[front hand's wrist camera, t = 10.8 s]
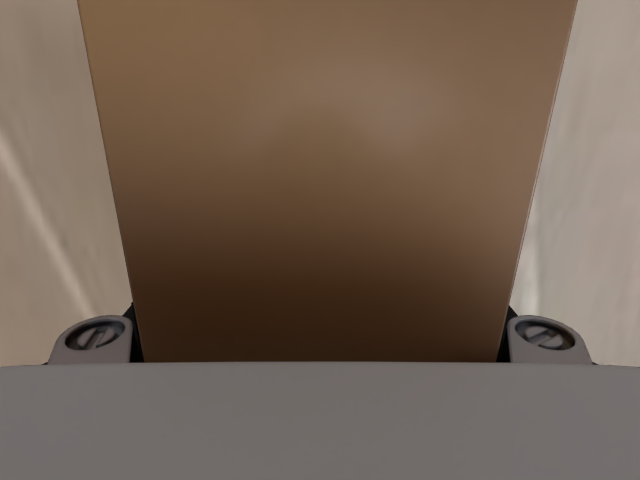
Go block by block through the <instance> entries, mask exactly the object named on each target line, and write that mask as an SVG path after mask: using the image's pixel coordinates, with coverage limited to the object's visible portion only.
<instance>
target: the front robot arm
mask: <svg viewBox="0 0 640 480" xmlns="http://www.w3.org/2000/svg"><path fill="white" fill-rule="evenodd" d="M0 480H640V367H631V366H615V365H598V364H596V363H593V362H592V360H591V358H590V355H589V353H588V350H587V348H586V345H585V343H584V341H583V339H582V338H581V336H580V335H579V334H578V333H577V332H576V331H574V330H573V329H572V328H570V327H568V326H567V325H565V324H563V323H561V322H558V321H555V320H553V319H550V318H546V317H541V316H534V315H522V316H518V315H517V314H516V313H515V312H514V311H513V309H512V308H511V307H510V306H508V311H507V315H506V320H505V324H504V328H503V333H502V337H501V342H500V346H499V350H498V355H497V359H496V363H467V362H171V363H144V357H143V352H142V347H141V341H140V336H139V331H138V325H137V320H136V315H135V309H134V304H133V302H132V303H131V306H130V307H129V309H128V310H127V311H126V312H125V313H124V314H123V316H118V315H106V316H99V317H94V318H90V319H87V320H85V321H82V322H79V323H77V324H75V325H73V326H72V327H70V328H68V329H67V330H66V331H64V332H63V333H62V334H61V335H60V336H59V338H58V339H57V341H56V343H55V345H54V348H53V350H52V353H51V355H50V358H49V360H48V362H47V363H44V364H42V365H23V366H9V367H0Z"/></svg>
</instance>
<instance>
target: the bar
mask: <svg viewBox="0 0 640 480" xmlns="http://www.w3.org/2000/svg"><path fill="white" fill-rule="evenodd" d="M577 1H578V0H77V3H78V8H79V14H80V19H81V24H82V30H83V35H84V41H85V46H86V51H87V57H88V62H89V67H90V73H91V78H92V83H93V89H94V94H95V100H96V105H97V110H98V116H99V121H100V126H101V132H102V137H103V143H104V148H105V153H106V159H107V164H108V169H109V175H110V180H111V186H112V191H113V196H114V202H115V207H116V212H117V218H118V223H119V229H120V234H121V239H122V245H123V250H124V255H125V261H126V266H127V272H128V277H129V282H130V288H131V293H132V298H133V304H134V309H135V315H136V320H137V325H138V331H139V336H140V341H141V347H142V352H143V357H144V363H171V362H467V363H496V359H497V355H498V350H499V346H500V342H501V337H502V333H503V328H504V324H505V320H506V315H507V311H508V306H509V302H510V297H511V293H512V289H513V284H514V280H515V275H516V271H517V267H518V262H519V258H520V253H521V249H522V244H523V240H524V236H525V231H526V227H527V222H528V218H529V214H530V209H531V205H532V200H533V196H534V191H535V187H536V183H537V178H538V174H539V169H540V165H541V160H542V156H543V152H544V147H545V143H546V138H547V134H548V130H549V125H550V121H551V116H552V112H553V107H554V103H555V99H556V94H557V90H558V85H559V81H560V77H561V72H562V68H563V63H564V59H565V54H566V50H567V46H568V41H569V37H570V32H571V28H572V24H573V19H574V15H575V10H576V6H577Z"/></svg>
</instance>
